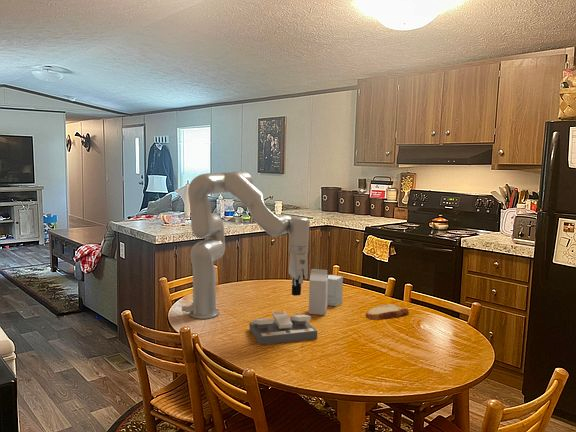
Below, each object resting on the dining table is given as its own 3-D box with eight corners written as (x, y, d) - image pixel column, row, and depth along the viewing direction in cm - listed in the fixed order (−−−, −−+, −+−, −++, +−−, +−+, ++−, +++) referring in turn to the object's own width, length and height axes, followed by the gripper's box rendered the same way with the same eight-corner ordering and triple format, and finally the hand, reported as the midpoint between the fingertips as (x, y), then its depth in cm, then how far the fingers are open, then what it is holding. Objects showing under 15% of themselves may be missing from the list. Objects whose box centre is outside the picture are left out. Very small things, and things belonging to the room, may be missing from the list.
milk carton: (325, 315, 208) (326, 272, 206) (308, 314, 210) (309, 271, 207) (327, 310, 215) (328, 268, 213) (311, 309, 217) (312, 267, 214)
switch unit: (260, 345, 175) (260, 333, 174) (249, 329, 190) (249, 319, 189) (317, 338, 181) (317, 327, 181) (302, 324, 196) (302, 314, 196)
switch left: (260, 324, 178) (259, 320, 178) (253, 323, 187) (253, 318, 187) (273, 323, 179) (272, 318, 180) (266, 321, 189) (265, 317, 189)
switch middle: (279, 328, 181) (279, 324, 180) (271, 315, 190) (272, 311, 189) (292, 327, 182) (292, 323, 182) (284, 314, 191) (284, 310, 191)
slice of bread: (364, 320, 204) (365, 311, 204) (368, 307, 222) (368, 299, 221) (408, 324, 200) (409, 315, 200) (408, 310, 218) (408, 302, 217)
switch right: (298, 321, 183) (298, 316, 183) (290, 319, 192) (290, 314, 192) (311, 320, 184) (310, 315, 184) (302, 318, 194) (302, 313, 194)
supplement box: (342, 303, 227) (343, 276, 225) (335, 307, 220) (336, 279, 219) (328, 300, 230) (329, 274, 229) (321, 304, 224) (321, 277, 223)
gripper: (314, 253, 182) (311, 300, 185) (301, 245, 196) (298, 289, 199) (295, 253, 180) (293, 301, 182) (283, 245, 194) (281, 289, 197)
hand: (296, 294), depth 191 cm, fingers closed
